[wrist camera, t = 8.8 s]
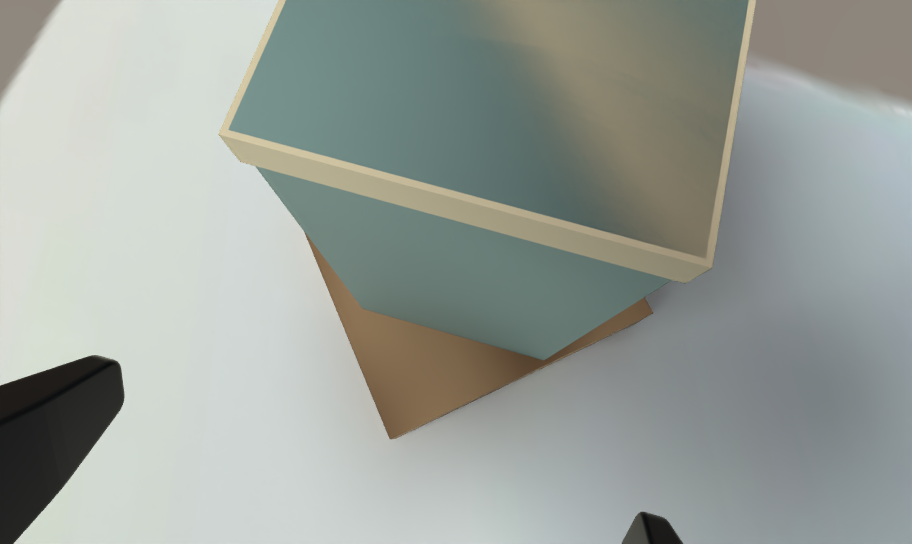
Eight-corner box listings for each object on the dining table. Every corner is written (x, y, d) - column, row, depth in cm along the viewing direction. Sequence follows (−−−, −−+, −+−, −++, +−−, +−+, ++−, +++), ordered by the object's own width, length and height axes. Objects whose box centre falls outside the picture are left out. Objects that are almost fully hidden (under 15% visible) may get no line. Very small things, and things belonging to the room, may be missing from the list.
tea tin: (545, 363, 18) (711, 268, 7) (358, 310, 19) (218, 134, 7) (587, 189, 20) (775, -121, 9) (415, 143, 21) (374, -213, 9)
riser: (397, 438, 20) (390, 439, 18) (303, 211, 23) (285, 185, 20) (631, 326, 21) (653, 312, 19) (516, 122, 24) (523, 88, 21)
